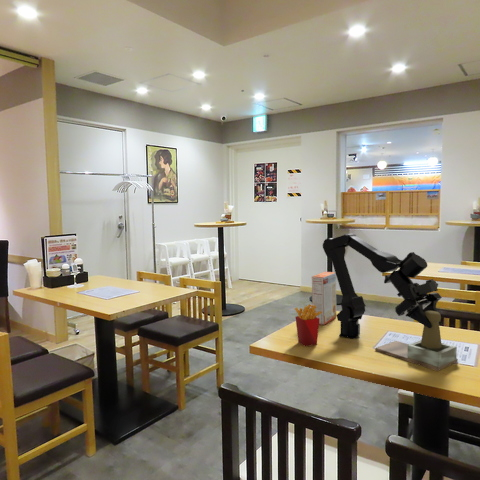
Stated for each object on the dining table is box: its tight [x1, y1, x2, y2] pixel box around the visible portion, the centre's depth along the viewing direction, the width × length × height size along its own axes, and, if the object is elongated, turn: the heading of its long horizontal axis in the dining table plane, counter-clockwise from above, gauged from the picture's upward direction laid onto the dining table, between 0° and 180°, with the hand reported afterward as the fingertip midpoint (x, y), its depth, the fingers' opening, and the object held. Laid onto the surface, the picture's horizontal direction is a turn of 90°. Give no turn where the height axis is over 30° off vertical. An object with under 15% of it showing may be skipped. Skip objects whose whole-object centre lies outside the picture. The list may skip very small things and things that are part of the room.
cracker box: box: [311, 271, 337, 326], centre depth 175 cm, size 14×6×21 cm, turn 145°
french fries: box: [294, 303, 322, 347], centre depth 145 cm, size 9×8×15 cm
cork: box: [420, 311, 442, 348], centre depth 127 cm, size 6×6×11 cm
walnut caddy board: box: [374, 339, 459, 372], centre depth 132 cm, size 22×12×5 cm, turn 35°
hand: (435, 326), depth 125 cm, fingers closed on cork, 5 cm apart
